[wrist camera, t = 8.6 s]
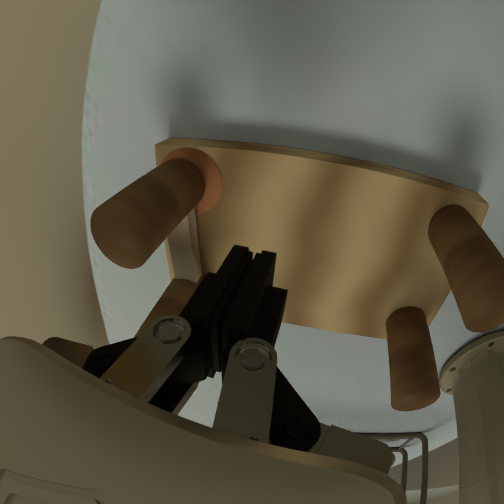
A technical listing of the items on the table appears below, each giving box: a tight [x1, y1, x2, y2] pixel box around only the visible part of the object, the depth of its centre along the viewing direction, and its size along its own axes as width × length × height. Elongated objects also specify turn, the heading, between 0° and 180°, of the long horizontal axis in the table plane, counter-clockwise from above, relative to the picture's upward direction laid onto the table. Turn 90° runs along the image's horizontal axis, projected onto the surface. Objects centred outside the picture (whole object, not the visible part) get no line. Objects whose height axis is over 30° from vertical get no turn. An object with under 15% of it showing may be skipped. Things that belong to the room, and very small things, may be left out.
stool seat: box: [155, 138, 504, 411], centre depth 17 cm, size 23×14×10 cm, turn 87°
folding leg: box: [91, 158, 205, 338], centre depth 18 cm, size 13×4×7 cm, turn 0°
